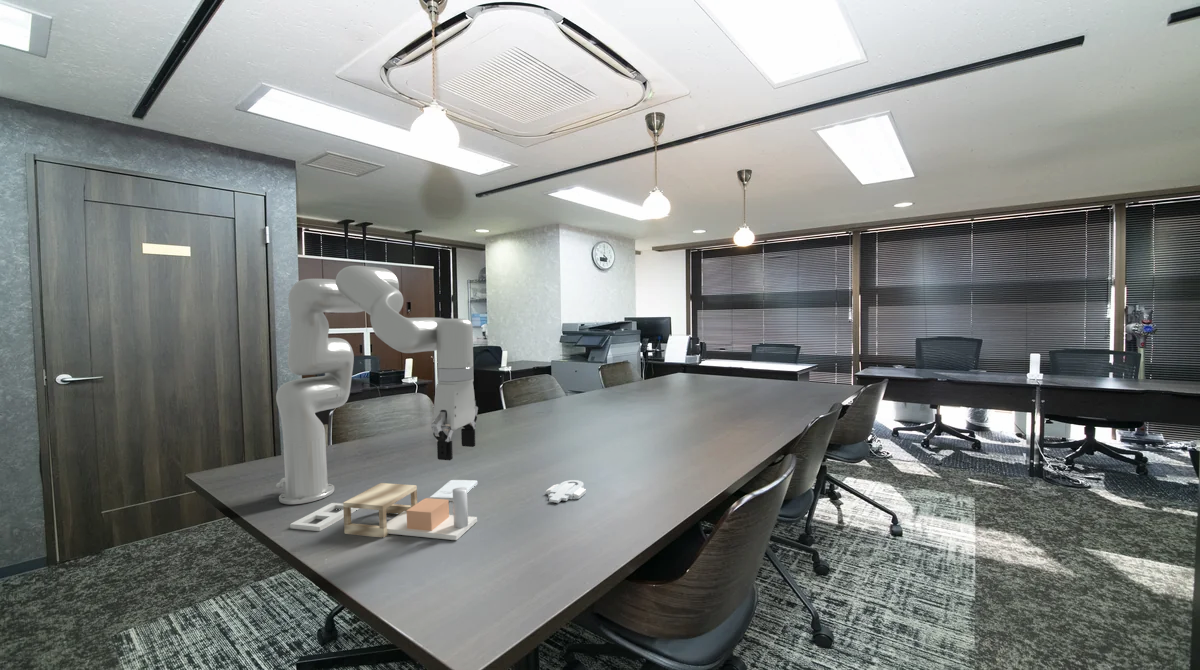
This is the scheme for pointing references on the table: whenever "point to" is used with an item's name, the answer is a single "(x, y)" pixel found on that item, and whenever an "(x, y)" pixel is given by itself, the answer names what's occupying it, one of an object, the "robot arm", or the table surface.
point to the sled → (435, 518)
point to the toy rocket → (566, 491)
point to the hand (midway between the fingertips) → (457, 452)
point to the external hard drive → (447, 489)
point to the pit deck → (321, 518)
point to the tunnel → (378, 507)
